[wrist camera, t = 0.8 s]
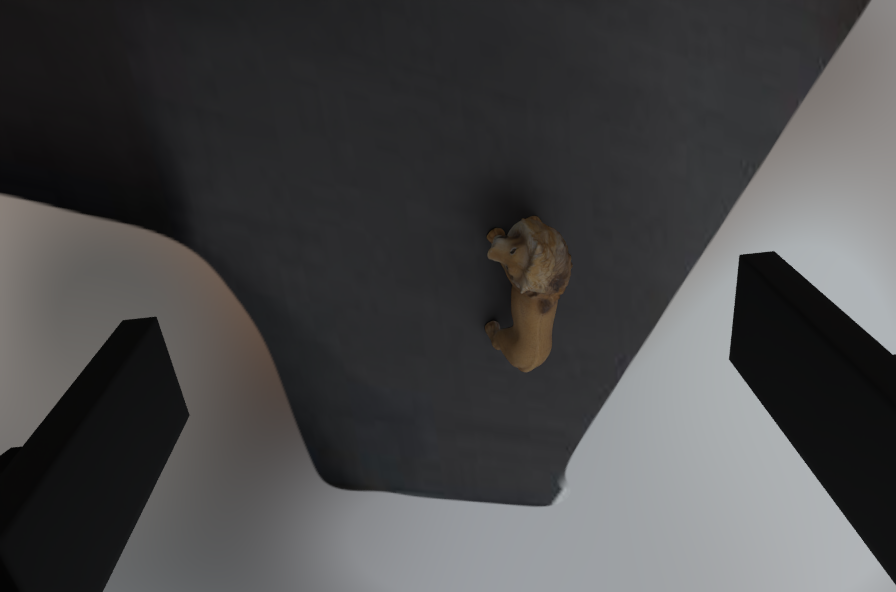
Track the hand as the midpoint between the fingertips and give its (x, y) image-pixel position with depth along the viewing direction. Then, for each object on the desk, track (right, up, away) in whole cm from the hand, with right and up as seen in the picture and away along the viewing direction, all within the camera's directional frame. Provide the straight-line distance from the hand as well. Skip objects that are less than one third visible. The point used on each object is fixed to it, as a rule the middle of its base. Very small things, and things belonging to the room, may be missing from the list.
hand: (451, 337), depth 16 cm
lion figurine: (+4, +3, +34) cm, 34 cm away
